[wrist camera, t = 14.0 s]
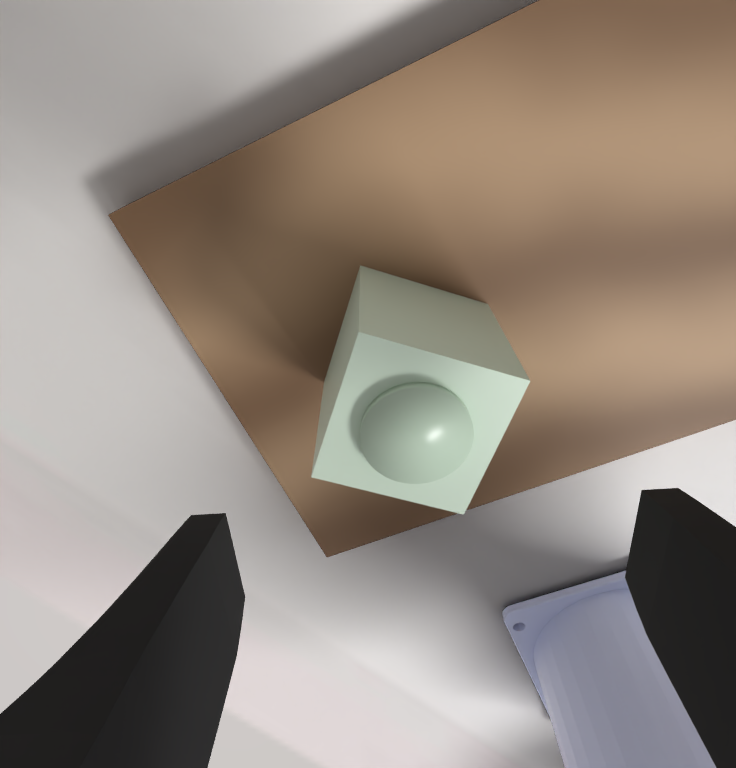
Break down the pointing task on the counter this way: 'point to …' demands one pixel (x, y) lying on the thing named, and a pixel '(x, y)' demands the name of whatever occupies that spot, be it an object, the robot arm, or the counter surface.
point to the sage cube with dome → (415, 393)
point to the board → (482, 241)
